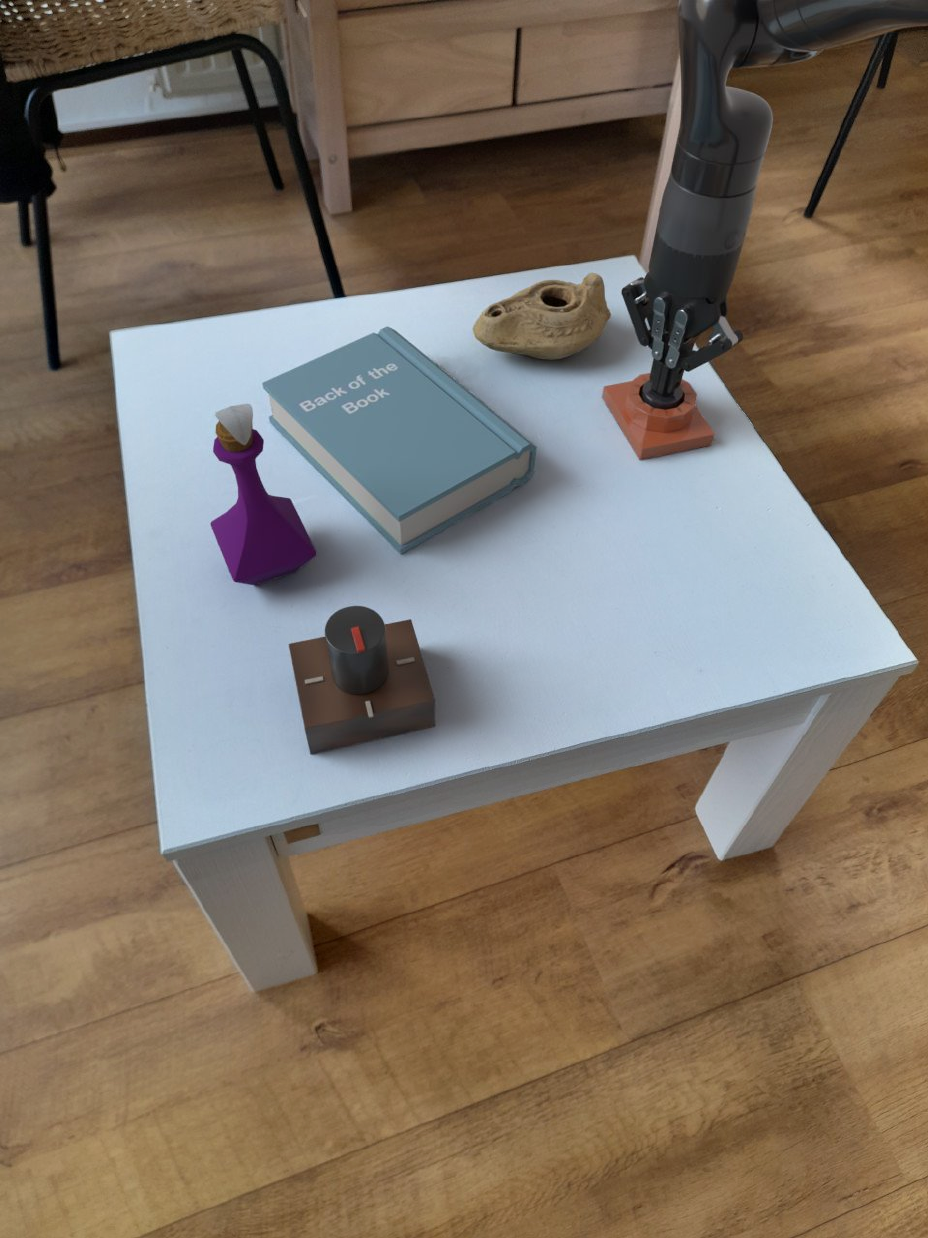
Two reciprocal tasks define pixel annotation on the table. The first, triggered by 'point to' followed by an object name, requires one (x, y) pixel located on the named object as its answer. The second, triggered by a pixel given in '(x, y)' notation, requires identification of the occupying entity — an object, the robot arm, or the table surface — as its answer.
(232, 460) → the perfume bottle
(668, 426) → the button base
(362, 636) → the dial
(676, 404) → the dark grey knob
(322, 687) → the dial panel
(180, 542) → the table surface
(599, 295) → the oil lamp
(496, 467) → the book
